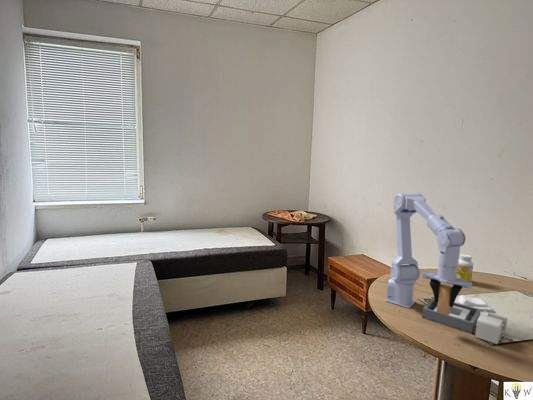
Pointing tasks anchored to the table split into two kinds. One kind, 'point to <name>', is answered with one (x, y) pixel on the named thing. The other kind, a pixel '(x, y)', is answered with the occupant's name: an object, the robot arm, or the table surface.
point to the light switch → (474, 303)
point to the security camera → (491, 327)
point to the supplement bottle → (465, 267)
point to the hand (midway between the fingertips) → (444, 303)
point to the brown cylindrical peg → (444, 299)
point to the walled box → (453, 316)
